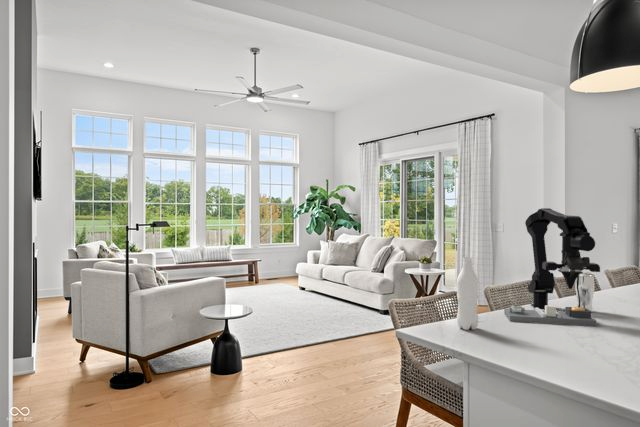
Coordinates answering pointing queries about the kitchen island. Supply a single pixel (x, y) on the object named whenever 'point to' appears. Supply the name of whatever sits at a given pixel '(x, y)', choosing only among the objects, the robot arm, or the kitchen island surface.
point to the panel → (561, 317)
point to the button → (577, 308)
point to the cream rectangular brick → (550, 311)
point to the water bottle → (467, 296)
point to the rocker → (516, 307)
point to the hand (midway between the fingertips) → (570, 288)
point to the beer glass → (585, 290)
